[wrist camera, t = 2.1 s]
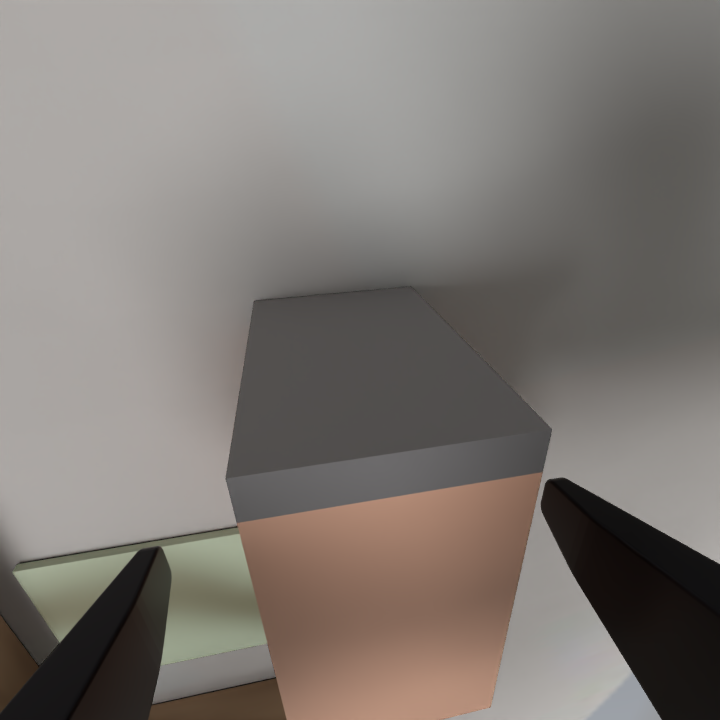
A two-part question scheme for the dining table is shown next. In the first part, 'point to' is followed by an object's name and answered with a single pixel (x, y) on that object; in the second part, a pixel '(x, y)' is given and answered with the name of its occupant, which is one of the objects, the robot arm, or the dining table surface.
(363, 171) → the dining table surface
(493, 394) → the terracotta block
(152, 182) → the dining table surface
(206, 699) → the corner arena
